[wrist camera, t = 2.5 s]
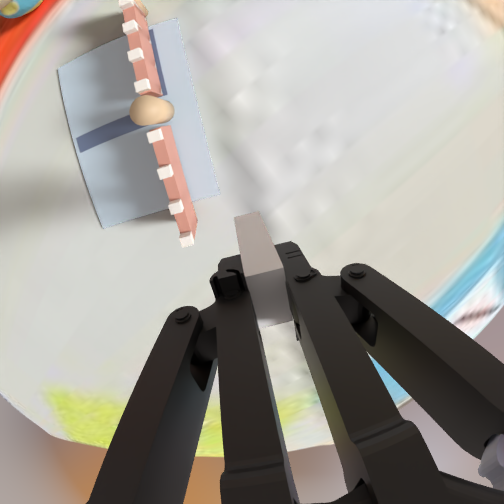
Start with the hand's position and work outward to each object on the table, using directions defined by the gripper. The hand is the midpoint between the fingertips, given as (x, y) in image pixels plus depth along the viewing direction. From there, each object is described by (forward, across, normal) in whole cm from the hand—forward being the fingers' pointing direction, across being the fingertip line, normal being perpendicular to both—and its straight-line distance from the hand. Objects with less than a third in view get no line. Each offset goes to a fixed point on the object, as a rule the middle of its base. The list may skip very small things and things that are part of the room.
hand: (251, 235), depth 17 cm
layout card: (+13, -9, +10) cm, 18 cm away
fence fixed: (+13, -5, +15) cm, 21 cm away
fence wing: (+13, -5, +3) cm, 14 cm away
